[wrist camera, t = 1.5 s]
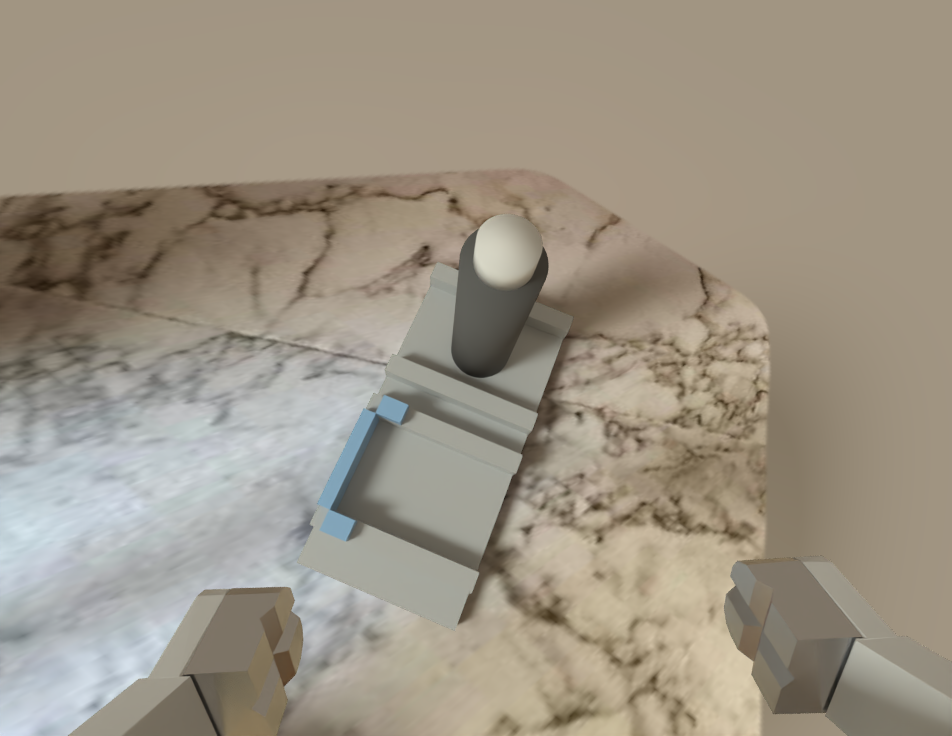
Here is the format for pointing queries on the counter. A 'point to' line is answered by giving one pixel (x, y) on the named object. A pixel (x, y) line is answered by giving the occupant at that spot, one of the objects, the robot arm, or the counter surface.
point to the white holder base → (431, 463)
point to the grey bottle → (496, 292)
